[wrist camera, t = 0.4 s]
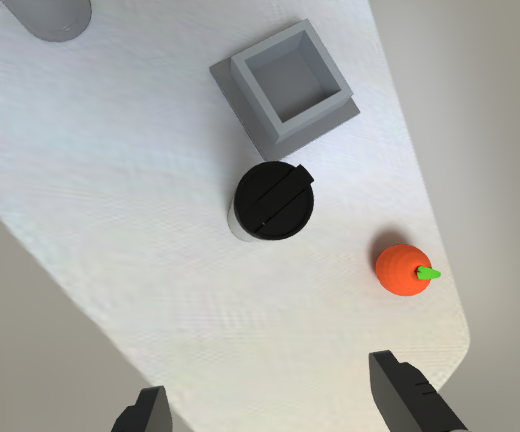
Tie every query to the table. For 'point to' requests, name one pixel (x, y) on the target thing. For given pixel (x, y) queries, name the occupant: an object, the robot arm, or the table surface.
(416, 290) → the clementine
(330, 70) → the mug dock
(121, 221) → the table surface
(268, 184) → the travel mug
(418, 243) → the table surface
